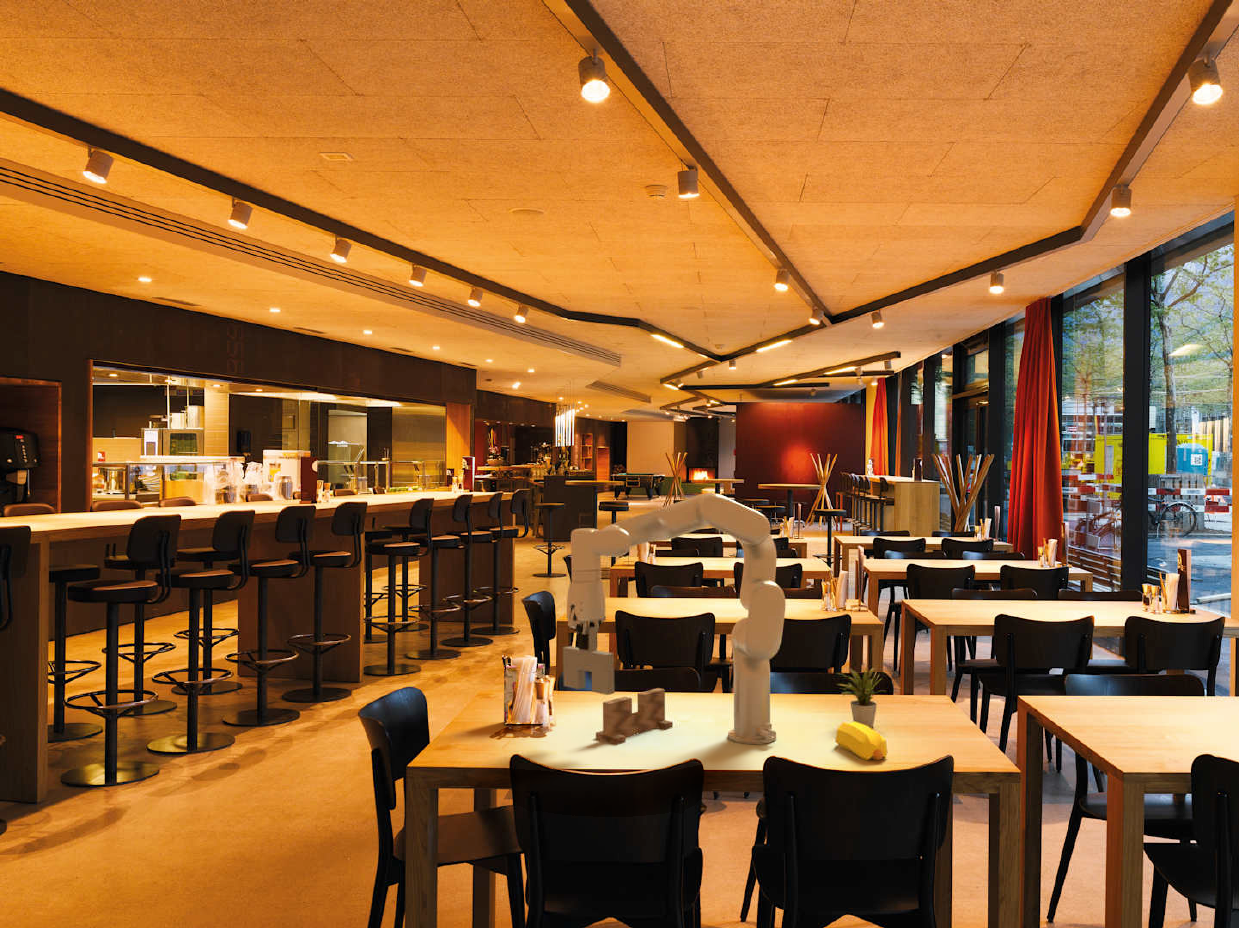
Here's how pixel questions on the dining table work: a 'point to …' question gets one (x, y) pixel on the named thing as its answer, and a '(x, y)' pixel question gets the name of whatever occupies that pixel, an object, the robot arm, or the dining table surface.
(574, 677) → the grey slotted plate
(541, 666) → the candy bar box
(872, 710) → the house plant
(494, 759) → the dining table surface
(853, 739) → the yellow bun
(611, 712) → the walnut slotted stand
